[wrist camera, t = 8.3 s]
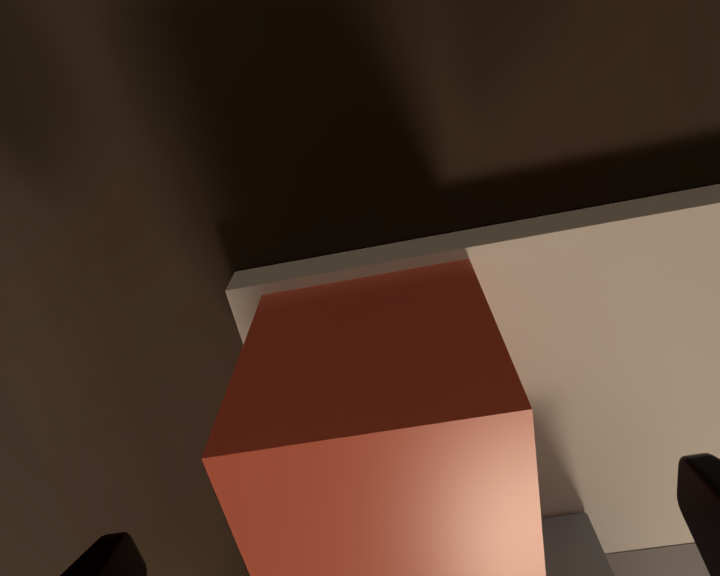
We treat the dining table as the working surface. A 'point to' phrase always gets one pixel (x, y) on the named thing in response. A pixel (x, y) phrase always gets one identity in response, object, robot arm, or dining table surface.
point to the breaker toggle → (573, 547)
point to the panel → (587, 352)
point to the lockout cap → (379, 434)
